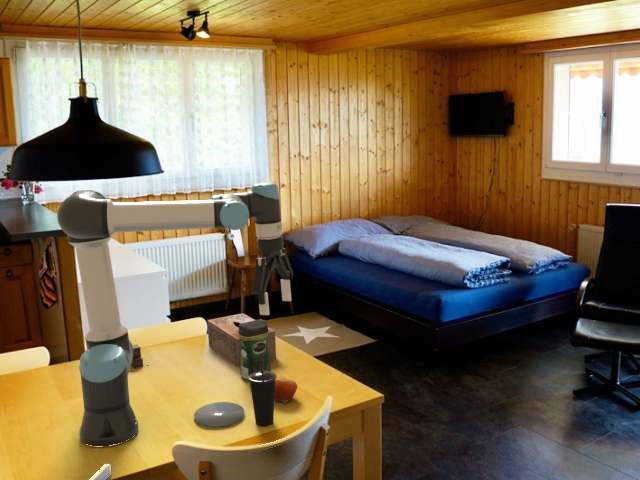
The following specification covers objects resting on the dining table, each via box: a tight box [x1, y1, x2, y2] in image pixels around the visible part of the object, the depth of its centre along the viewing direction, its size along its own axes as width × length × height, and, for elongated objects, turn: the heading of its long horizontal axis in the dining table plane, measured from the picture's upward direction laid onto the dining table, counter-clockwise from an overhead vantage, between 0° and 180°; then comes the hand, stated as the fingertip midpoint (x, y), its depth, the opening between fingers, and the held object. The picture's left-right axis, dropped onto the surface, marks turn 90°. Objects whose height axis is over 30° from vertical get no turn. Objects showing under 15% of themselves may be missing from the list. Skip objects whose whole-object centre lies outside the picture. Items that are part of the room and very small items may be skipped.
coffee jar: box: [238, 318, 272, 381], centre depth 216 cm, size 10×8×19 cm
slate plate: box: [193, 401, 245, 429], centre depth 189 cm, size 14×14×1 cm
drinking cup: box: [248, 354, 278, 428], centre depth 183 cm, size 8×8×20 cm
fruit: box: [274, 376, 298, 406], centre depth 199 cm, size 8×8×8 cm
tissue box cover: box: [207, 313, 277, 368], centre depth 240 cm, size 26×14×10 cm, turn 32°
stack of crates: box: [130, 344, 144, 369], centre depth 230 cm, size 15×15×7 cm
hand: (276, 307), depth 197 cm, fingers open, 13 cm apart
